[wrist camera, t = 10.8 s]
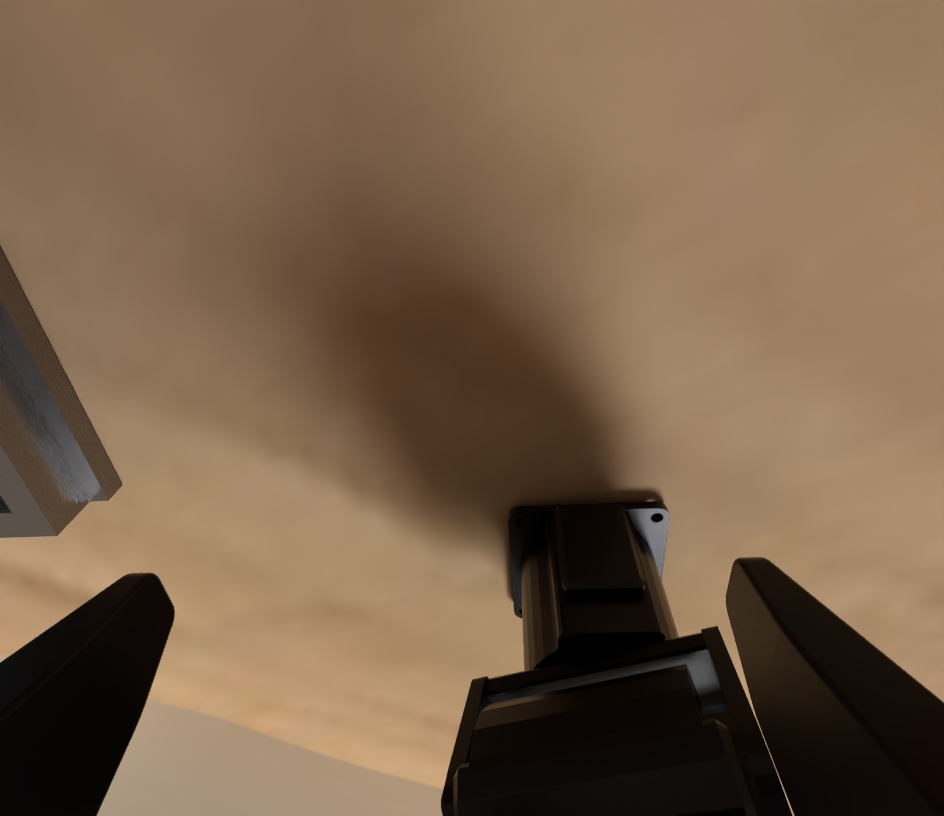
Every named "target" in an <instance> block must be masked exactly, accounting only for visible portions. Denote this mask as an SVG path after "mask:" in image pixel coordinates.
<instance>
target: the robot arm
mask: <svg viewBox="0 0 944 816" xmlns="http://www.w3.org/2000/svg"><path fill="white" fill-rule="evenodd" d="M655 513H660V514H658V515H656V516H652V515H653V514H655ZM520 517H521V518H524V519H523V520H517V518H520ZM669 519H670V516H669V512H668V509H667V507H666V506H665V504H663V503H661V502H633V503H604V504H574V505H544V506H519V507H515V508H513V509H511V510H510V512H509V514H508V525H509V540H510V555H511V570H512V585H513V600H514V612H515V615H517V616H518V617H520V618H523V644H524V671H522V672H518V673H513V674H508V675H504V676H499V677H495V678H490V679H489V678H488V677H482V678H477V679H473V680H472V682H471V686H470V689H469V693H468V697H467V701H466V705H465V708H464V712H463V716H462V720H461V723H460V727H459V731H458V735H457V738H456V742H455V746H454V750H453V754H452V757H451V761H450V765H449V769H448V772H447V778H446V782H445V786H444V790H443V793H442V798H441V809H442V814H443V816H792V813H791V810H790V808H789V805H788V802H787V799H786V797H785V794H784V791H783V789H782V786H781V783H780V780H779V778H778V775H777V772H778V774H779V777H780V779H781V782H782V784H783V787H784V790H785V792H786V795H787V797H788V800H789V802H790V805H791V808H792V810H793V813H794V815H795V816H944V702H943V701H941V700H940V699H939V698H938V697H937V696H935V695H934V694H933V693H932V692H930V691H929V690H928V689H927V688H925V687H924V686H923V685H922V684H921V683H919V682H918V681H917V680H916V679H914V678H913V677H912V676H911V675H909V674H908V673H907V672H906V671H905V670H903V669H902V668H901V667H900V666H898V665H897V664H896V663H895V662H893V661H892V660H891V659H890V658H889V657H887V656H886V655H885V654H884V653H882V652H881V651H880V650H879V649H878V648H876V647H875V646H874V645H873V644H871V643H870V642H869V641H868V640H866V639H865V638H864V637H863V636H862V635H860V634H859V633H858V632H857V631H855V630H854V629H853V628H852V627H850V626H849V625H848V624H847V623H846V622H844V621H843V620H842V619H841V618H839V617H838V616H837V615H836V614H834V613H833V612H832V611H831V610H830V609H828V608H827V607H826V606H825V605H823V604H822V603H821V602H820V601H819V600H817V599H816V598H815V597H814V596H812V595H811V594H810V593H809V592H807V591H806V590H805V589H804V588H803V587H801V586H800V585H799V584H798V583H796V582H795V581H794V580H793V579H791V578H790V577H789V576H788V575H787V574H785V573H784V572H783V571H782V570H780V569H779V568H778V567H777V566H775V565H774V564H773V563H772V562H771V561H769V560H767V559H765V558H762V557H749V558H738V559H736V560H735V561H734V563H733V566H732V571H731V575H730V580H729V584H728V589H727V593H726V607H727V612H728V616H729V619H730V623H731V627H732V630H733V634H734V638H735V642H736V645H737V649H738V653H739V656H740V660H741V664H742V667H743V671H744V675H745V678H746V682H747V686H748V689H749V693H750V697H751V700H752V704H753V707H754V710H755V714H756V717H757V719H758V722H759V725H760V728H761V730H762V733H763V736H764V738H765V741H766V743H767V746H768V748H769V751H770V754H771V756H772V759H773V761H774V764H775V766H776V769H777V772H776V770H775V767H774V764H773V762H772V759H771V757H770V754H769V751H768V749H767V746H766V744H765V741H764V738H763V736H762V733H761V731H760V728H759V726H758V723H757V721H756V718H755V716H754V714H753V711H752V709H751V706H750V704H749V701H748V699H747V697H746V694H745V692H744V689H743V687H742V685H741V682H740V680H739V677H738V675H737V672H736V670H735V668H734V665H733V663H732V660H731V658H730V655H729V653H728V651H727V648H726V646H725V643H724V641H723V638H722V636H721V634H720V631H719V629H718V626H715V627H710V628H706V629H701V631H702V632H701V633H697V634H692V635H688V636H683V637H679V636H678V633H677V630H676V626H675V623H674V620H673V617H672V614H671V610H670V607H669V604H668V601H667V598H666V594H665V591H664V588H663V585H662V573H663V565H664V558H665V550H666V542H667V534H668V527H669ZM174 616H175V611H174V606H173V603H172V602H171V600H170V598H169V596H168V594H167V592H166V590H165V588H164V586H163V585H162V583H161V581H160V579H159V577H158V576H157V575H155V574H154V573H131V574H127V575H125V576H123V577H122V578H120V579H119V580H117V581H116V582H115V583H113V584H112V585H110V586H109V587H107V588H106V589H105V590H103V591H102V592H100V593H99V594H97V595H96V596H95V597H93V598H92V599H90V600H89V601H88V602H86V603H85V604H83V605H82V606H80V607H79V608H78V609H76V610H75V611H73V612H72V613H70V614H69V615H68V616H66V617H65V618H63V619H62V620H60V621H59V622H58V623H56V624H55V625H53V626H52V627H50V628H49V629H48V630H46V631H45V632H43V633H42V634H40V635H39V636H38V637H36V638H35V639H33V640H32V641H30V642H29V643H28V644H26V645H25V646H23V647H22V648H20V649H19V650H18V651H16V652H15V653H13V654H12V655H10V656H9V657H8V658H6V659H5V660H3V661H2V662H1V663H0V816H97V814H98V811H99V809H100V807H101V805H102V802H103V800H104V798H105V796H106V794H107V791H108V789H109V787H110V785H111V782H112V780H113V778H114V776H115V774H116V771H117V769H118V767H119V765H120V762H121V760H122V758H123V756H124V754H125V751H126V749H127V746H128V745H129V742H130V740H131V738H132V736H133V733H134V731H135V729H136V726H137V724H138V722H139V719H140V717H141V714H142V712H143V709H144V706H145V704H146V701H147V698H148V695H149V692H150V689H151V686H152V684H153V681H154V678H155V675H156V672H157V669H158V666H159V663H160V660H161V657H162V654H163V651H164V648H165V645H166V642H167V640H168V637H169V634H170V631H171V628H172V625H173V621H174Z"/></svg>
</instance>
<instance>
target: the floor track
mask: <svg viewBox="0 0 944 816" xmlns="http://www.w3.org/2000/svg"><path fill="white" fill-rule="evenodd" d="M121 486H122V483H121V481H120V479H119V477H118V475H117V473H116V471H115V469H114V467H113V466H112V464H111V462H110V460H109V458H108V456H107V454H106V452H105V450H104V448H103V446H102V444H101V442H100V440H99V438H98V436H97V434H96V432H95V430H94V428H93V427H92V425H91V423H90V421H89V419H88V417H87V415H86V413H85V411H84V409H83V407H82V405H81V403H80V401H79V399H78V397H77V395H76V393H75V391H74V389H73V388H72V386H71V384H70V382H69V380H68V378H67V376H66V374H65V372H64V370H63V368H62V366H61V364H60V362H59V360H58V358H57V356H56V354H55V352H54V351H53V349H52V347H51V345H50V343H49V341H48V339H47V337H46V335H45V333H44V331H43V329H42V327H41V325H40V323H39V321H38V319H37V317H36V315H35V313H34V312H33V310H32V308H31V306H30V304H29V302H28V300H27V298H26V296H25V294H24V292H23V290H22V288H21V286H20V284H19V282H18V280H17V278H16V276H15V274H14V273H13V271H12V269H11V267H10V265H9V263H8V261H7V259H6V257H5V255H4V253H3V251H2V249H1V247H0V538H6V537H38V536H58V534H59V533H60V532H61V531H62V530H63V529H64V528H65V527H66V526H67V525H68V524H69V523H70V522H71V521H72V520H73V519H74V518H75V517H76V516H77V514H78V513H79V512H80V511H81V510H82V509H83V508H84V507H85V506H86V505H87V504H88V503H89V502H90V501H108V500H109V499H110V498H111V497H112V496H113V495H114V494H115V493H116V492H117V491H118V489H119V488H120V487H121Z"/></svg>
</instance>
